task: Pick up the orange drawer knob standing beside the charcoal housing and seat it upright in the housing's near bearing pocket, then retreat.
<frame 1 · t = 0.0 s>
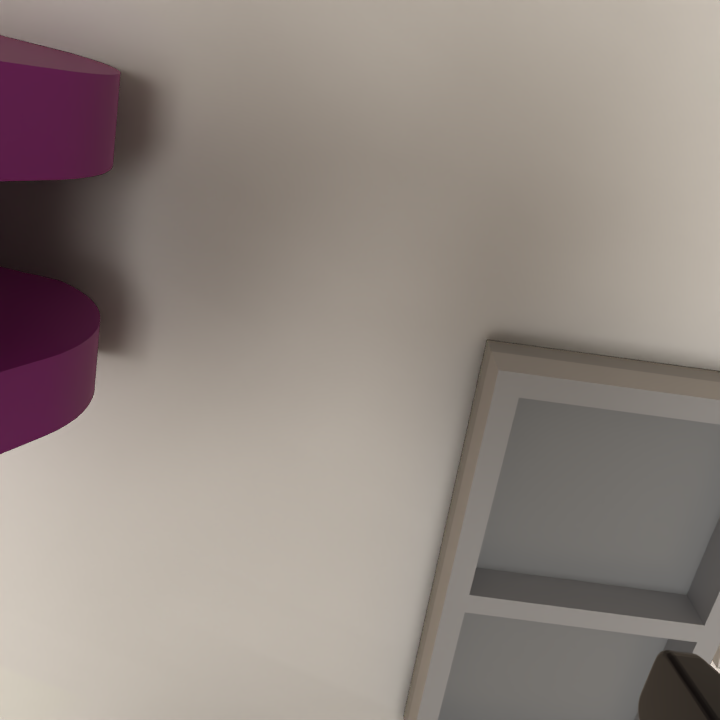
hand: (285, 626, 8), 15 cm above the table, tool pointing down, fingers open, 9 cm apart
housing: (566, 570, 26), on the table
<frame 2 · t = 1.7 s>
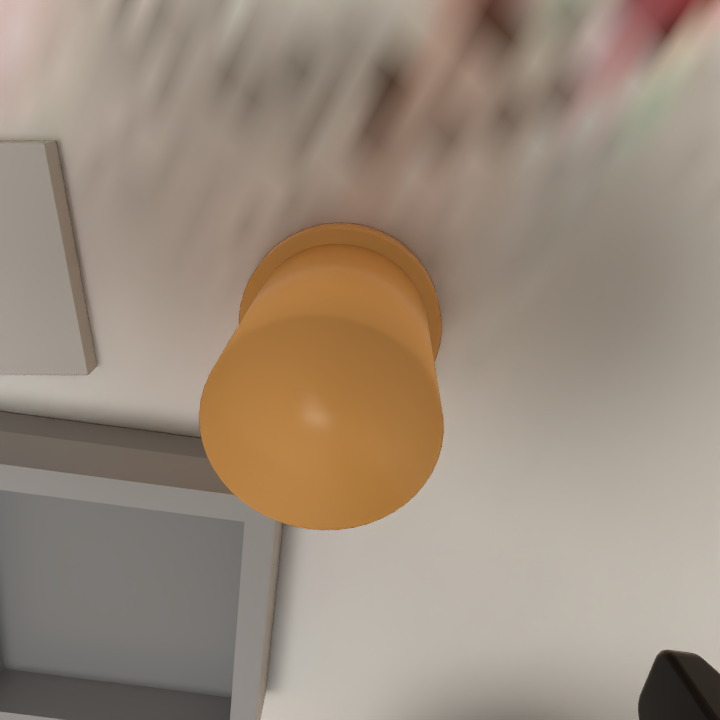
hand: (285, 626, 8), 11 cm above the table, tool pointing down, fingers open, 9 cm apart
orange drawer knob: (341, 319, 18), on the table
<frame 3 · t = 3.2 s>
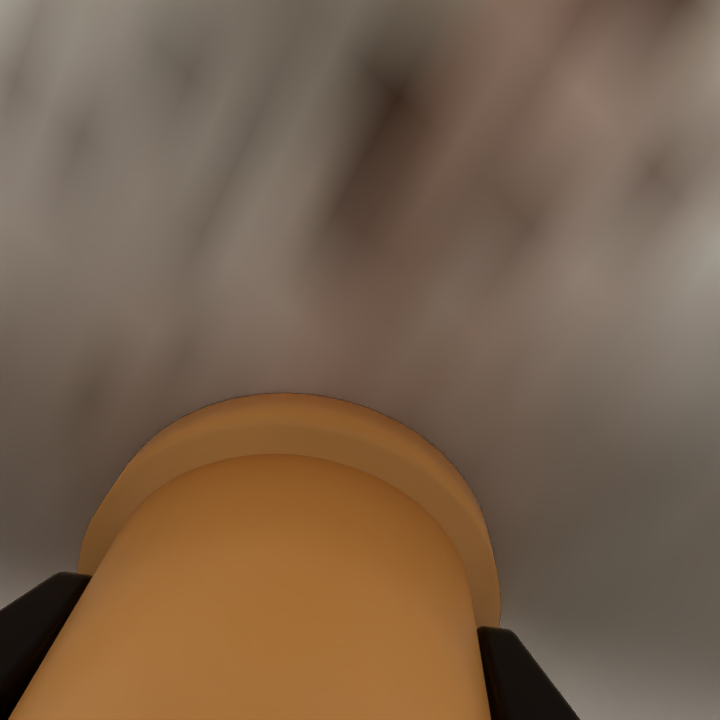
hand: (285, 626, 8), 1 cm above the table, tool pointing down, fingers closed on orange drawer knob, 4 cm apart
orange drawer knob: (296, 567, 9), on the table, touching gripper
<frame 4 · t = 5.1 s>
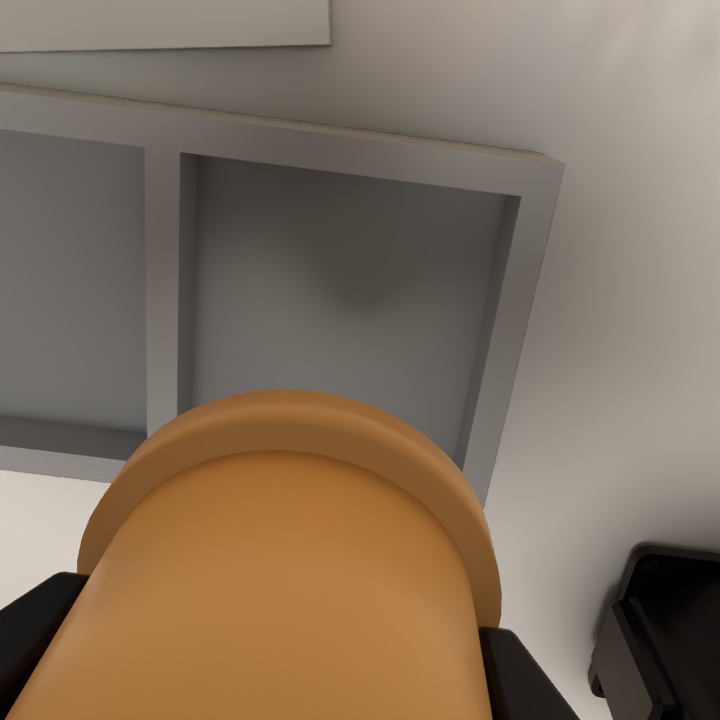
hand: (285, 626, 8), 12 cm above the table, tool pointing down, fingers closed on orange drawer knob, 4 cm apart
orange drawer knob: (296, 564, 9), point 11 cm above the table, touching gripper
housing: (189, 293, 19), on the table
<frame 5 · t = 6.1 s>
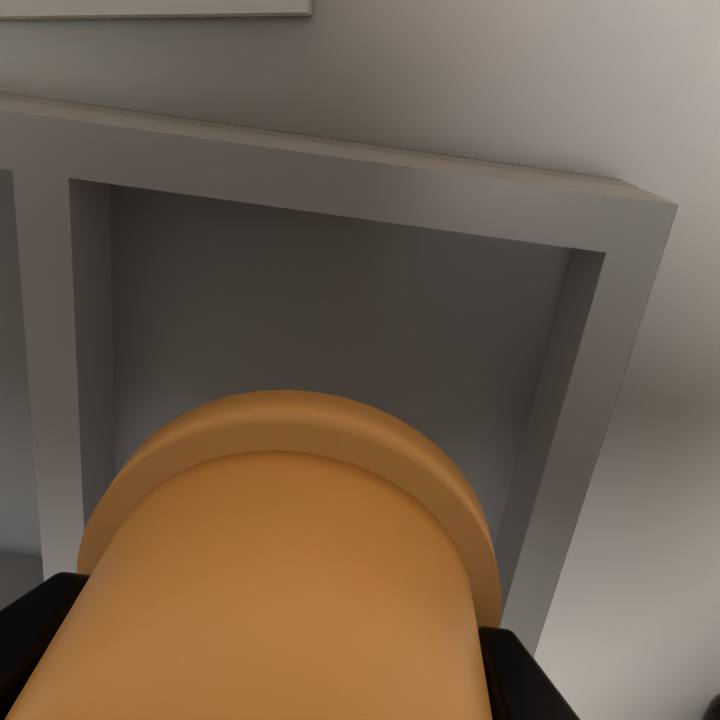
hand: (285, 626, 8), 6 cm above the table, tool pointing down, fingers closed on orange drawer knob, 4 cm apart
orange drawer knob: (296, 564, 9), point 5 cm above the table, touching gripper
housing: (112, 369, 13), on the table
when the fingers open (3 cm above the table, at t = 7.0 s): orange drawer knob drops 1 cm, resting on housing.
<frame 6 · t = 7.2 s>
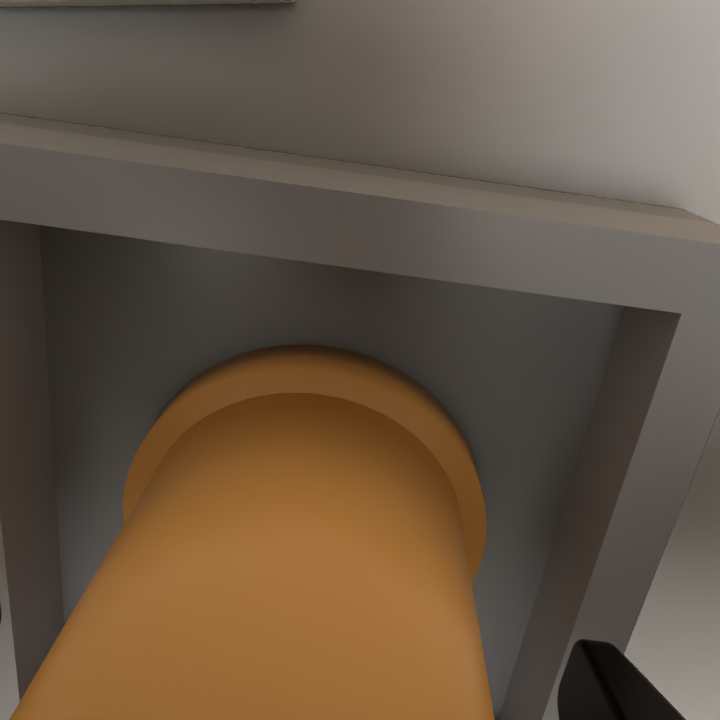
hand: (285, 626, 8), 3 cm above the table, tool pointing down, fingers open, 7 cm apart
orange drawer knob: (309, 500, 10), point 1 cm above the table, touching housing
housing: (58, 433, 11), on the table
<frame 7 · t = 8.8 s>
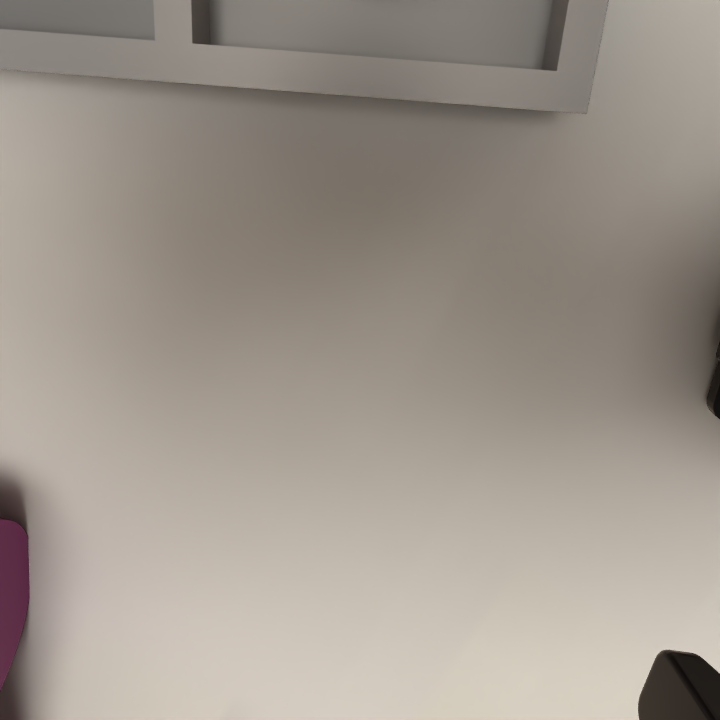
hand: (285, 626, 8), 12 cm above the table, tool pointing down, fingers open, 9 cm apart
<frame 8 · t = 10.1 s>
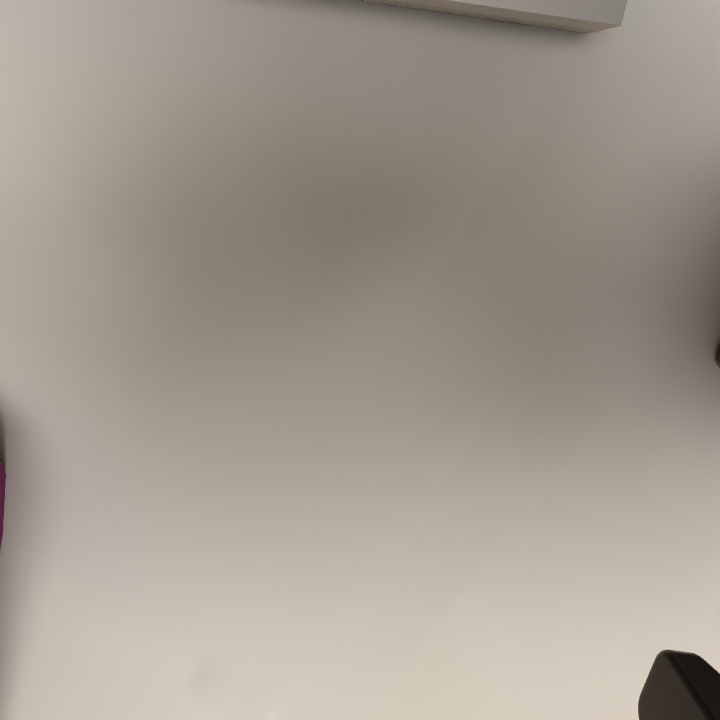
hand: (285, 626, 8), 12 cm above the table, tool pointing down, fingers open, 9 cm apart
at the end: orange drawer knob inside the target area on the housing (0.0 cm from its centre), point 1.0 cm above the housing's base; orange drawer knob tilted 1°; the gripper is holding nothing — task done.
